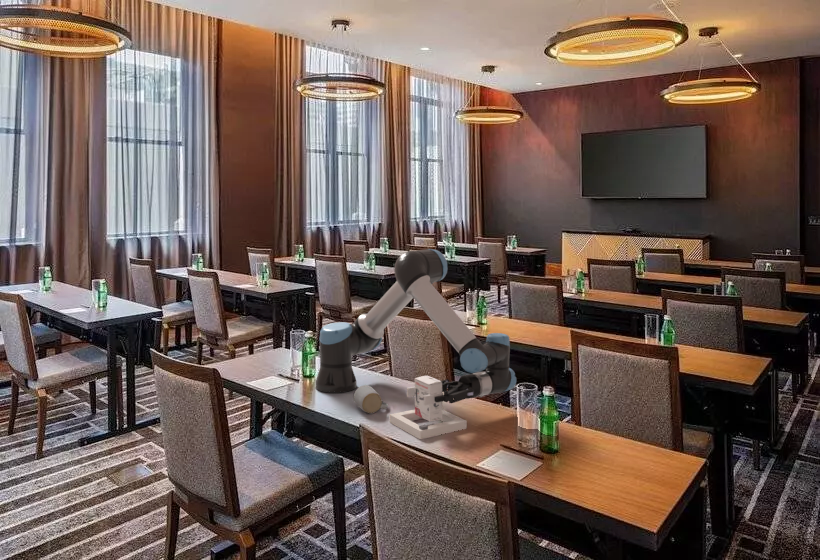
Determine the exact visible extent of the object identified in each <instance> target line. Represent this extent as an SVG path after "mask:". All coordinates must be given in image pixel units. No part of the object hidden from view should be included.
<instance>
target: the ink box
mask: <svg viewBox="0 0 820 560" xmlns="http://www.w3.org/2000/svg"><path fill="white" fill-rule="evenodd" d="M441 381H442V380H439V379H437V378H435V377H432V376H429V375H422V376H418V377H414V387H415V396H414V409H415V414H416V415H418V416H420V417H422V418H423V419H424V420H427V421H428V422H430V423H431V422H435V421H440V419H442V409H443V402H439V403H434V404H429V405H424V396H425V395H431V394H436V393H441V392H442V382H441ZM442 393H443V392H442Z"/></svg>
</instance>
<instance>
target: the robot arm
mask: <svg viewBox="0 0 820 560" xmlns="http://www.w3.org/2000/svg"><path fill="white" fill-rule="evenodd" d="M447 274H448V262H447V259H446V257H445V256H444V254H443V253H442V252H441V251H439V250H437V249H432V248H426V249H420V250H419V249H418V250H408V251H405V252H403V253H401V254H400V256H398V258H397V259H396V261H395V264H394V276H395V279H396V281H395V283H393V284H392V286H391V287H390V288H389V289H388V290H387V291H386V292H385V293H384V294H383V296H381V297H380V299H379V300H378V301H377V302H376V303H375V304H374V305H373V307H371V309H370V310H369V311H368V312H367V313H362V314H360V315H359V316H358V317H357V318H356V319H355V321H353V323H351V324H350V323H349V322H346V321H345V322H344V321H343V322H342V321H338V322H331V323H329V324H325V325H324V326H322V327H321V329H320V331H319V368H318V373H317V376H316V379H315V389H316V391H320V392H324V393H331V394H332V393H333V394H334V393H335V394H336V393H338V394H339V393H347V392H351V391H353V390H356V388H358V387H357V378H356V376H355V372H354V369H353V361H352V360H353V356H355V355H361V354H363V353H368V352H371V351H373V350H375V349H377V348H378V347H379V346H380V345H381V344H382V340H383V336H384V334H385V328H387V326H388V325H389V324H390V323H392V321H393V320H394V319H395V318H396V317H397V316H398V314H400V313H401V312H402V310H403V309H404V308H405V307H406V306H407V305H408V304H409V303H410V302H411V301H412V299H413V300H414V301H415V302H416V303H417V304H418V306H420V308H421V309H422V310H423V312H424V313H425V314H426V315H427V316H428V317H429V319H430V320H431V321H432V322H433V324H434V325H435V326H436V327H437V329H438V330H439V331H440V333H441V334H442V335H443V336H444V337H445V338H446V340H447V341H448V342H449V344H450V345H451V346H452V347H453V348H454V349H455V351H456V352H457V353H458V354H459V356H460V357H459V361H460V366H461V368H462V369H463V370H464V371H465V372H467V373H468V374H463V375H461V376H460V377H459V379H458V380H452V381H450V379H448V378H447V379H441V380H440V381H441V382H442V392H441V393H436V394H431V395H425V396H424V405H429V404H434V403H439V402H442V403H449V404H454V403H457V402H460V401H464V400H468V399H469V400H470V399H473V398H477V397H480V398H483V396H487V395H493V394H499V393H505V392H507V391H510V390H512V389H514V388H515V386H516V384H517V377H516V373H515V371H514V370H513V369H512V368H510V352H511V350H510V348H511V345H510V344H511V342H510V336H509V335H508V334H507V333H501V332H492V333H488V334H487V336H486V340H485V343H482V342H481V341H480V340H479V339H478V337H476V335H475V334H474V333H473V332H472V330H471V329H470V328H469V327H468V326H467V325H466V323H465V322H464V321H463V320H462V318H461V317H460V316H459V315H458V314H457V313H456V311H455V310H454V309H453V308H452V306H450V304H449V303H448V302H447V301H446V299H445V298H444V297H443V296H442V295H441V293H440V292H439V291H438V290H437V288H436V287H435V286H434V285H433V284H434V283H437V282H440V281H442V280H443V279H444V278H445V277H446V275H447ZM484 370H485V371H484ZM412 397H415V386H409V387H406V398H412Z"/></svg>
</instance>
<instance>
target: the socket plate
mask: <svg viewBox="0 0 820 560" xmlns="http://www.w3.org/2000/svg"><path fill="white" fill-rule="evenodd" d="M422 419H424V418H422V417H420V416H418V415H416V414H415V408H414V409H410V410H405V411H401V412H395V413H391V414H389V423H390V424H392V425H394V426H396V427H397V428H399V429H401V430H403V431H404V432H406V433H408V434H409V435H411V436H413V437H414V438H416V439H418V440H425V439H428V438H433V437H437V436H438V437H439V436H441V434H442V435H445V433H446V434H450V433H455V432H459V431H463V430H467V428H468V427H467V426H468V425H467V423H468V422H467V420H466V419H463V418H461V417H460V416H457V415H455V414H453V413H451V412H449V411H447V410H445V409H443V408H442V419H440V420H441V422H439V423H435V424H430V425H427V424H422V425H421V424H417V423H416V422H414V421H416V420H422ZM440 420H439V421H440ZM442 421H443V422H442ZM462 429H463V430H462ZM458 430H459V431H458ZM454 431H455V432H454Z"/></svg>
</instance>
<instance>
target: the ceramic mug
mask: <svg viewBox="0 0 820 560" xmlns="http://www.w3.org/2000/svg"><path fill="white" fill-rule="evenodd" d="M353 401H354V404H355V405H356V406H357V407H359V409H361V410H362V411H363V412H364V413H366V414H374V413H375V414H376V413H377V412H378V411H380V409H382V410H388V407H389V404H388V403H387V402H384V400H382V397H381V395H380V393H378V392H377V391H376V390H375V389H374V388H373V387H372V386H370V385H368V384H367V385H366V384H365V385H361V386H359V387H357V389H355V391H354V394H353Z"/></svg>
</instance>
